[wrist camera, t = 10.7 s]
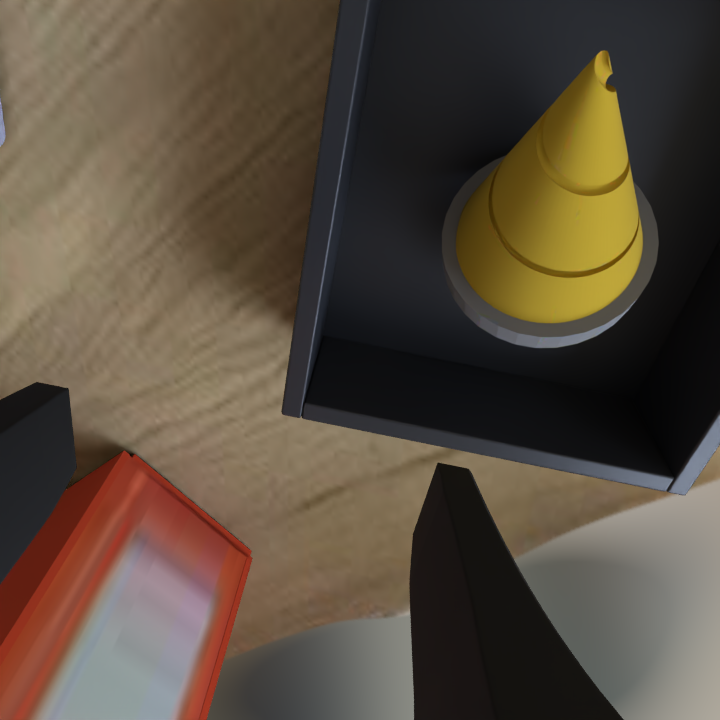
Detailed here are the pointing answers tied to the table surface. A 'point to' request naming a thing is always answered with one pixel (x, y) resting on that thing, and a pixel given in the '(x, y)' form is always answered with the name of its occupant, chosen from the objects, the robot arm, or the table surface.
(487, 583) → the robot arm
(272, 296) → the table surface
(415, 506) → the table surface
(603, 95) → the yellow traffic cone
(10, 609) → the file binder
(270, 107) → the table surface
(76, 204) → the table surface
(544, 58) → the bin
